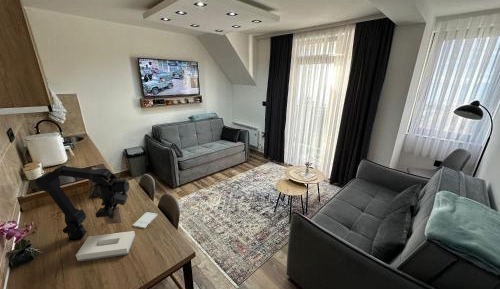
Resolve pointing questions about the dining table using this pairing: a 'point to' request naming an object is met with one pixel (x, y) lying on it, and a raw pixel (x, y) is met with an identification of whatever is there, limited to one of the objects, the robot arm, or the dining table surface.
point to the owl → (93, 188)
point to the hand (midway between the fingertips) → (113, 216)
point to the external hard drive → (144, 220)
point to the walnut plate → (115, 217)
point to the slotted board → (106, 246)
